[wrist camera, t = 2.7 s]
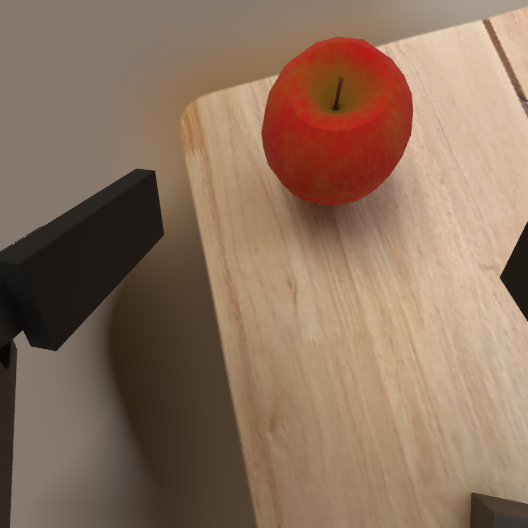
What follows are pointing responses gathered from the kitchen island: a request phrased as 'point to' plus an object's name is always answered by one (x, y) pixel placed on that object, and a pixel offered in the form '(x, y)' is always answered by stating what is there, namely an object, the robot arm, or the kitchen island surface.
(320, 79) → the apple
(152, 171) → the robot arm
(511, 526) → the kitchen scale
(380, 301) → the kitchen island surface
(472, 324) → the kitchen island surface
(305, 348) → the kitchen island surface
